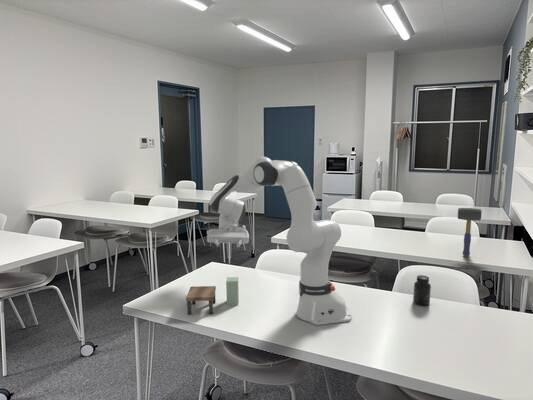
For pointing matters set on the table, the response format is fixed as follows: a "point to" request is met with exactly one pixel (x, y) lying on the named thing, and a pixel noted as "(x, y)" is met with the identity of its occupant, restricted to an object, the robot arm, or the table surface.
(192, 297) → the peg shelf
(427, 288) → the supplement bottle
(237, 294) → the green block
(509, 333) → the table surface
